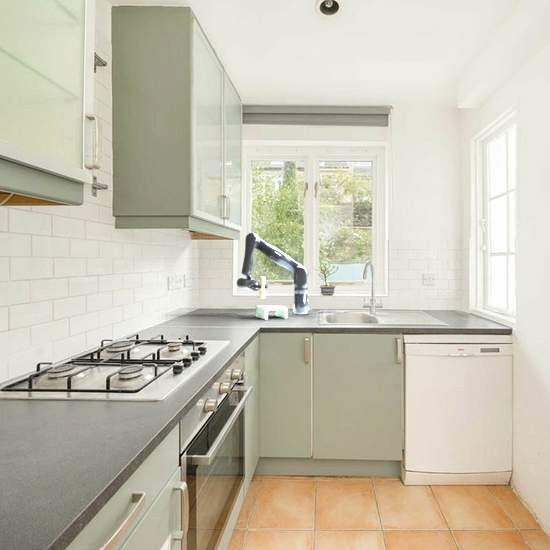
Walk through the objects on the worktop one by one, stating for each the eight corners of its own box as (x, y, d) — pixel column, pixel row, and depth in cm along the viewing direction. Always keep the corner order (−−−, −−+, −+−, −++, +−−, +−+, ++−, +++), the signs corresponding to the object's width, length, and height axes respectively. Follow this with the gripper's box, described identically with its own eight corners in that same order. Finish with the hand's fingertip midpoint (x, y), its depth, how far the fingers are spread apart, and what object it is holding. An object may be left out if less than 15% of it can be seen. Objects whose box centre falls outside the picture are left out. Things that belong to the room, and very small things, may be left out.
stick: (264, 297, 304) (264, 276, 304) (267, 298, 300) (267, 276, 299) (256, 297, 302) (257, 276, 301) (260, 298, 297) (260, 276, 297)
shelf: (277, 315, 309) (278, 305, 309) (287, 318, 297) (287, 307, 297) (256, 316, 302) (256, 306, 302) (264, 319, 290) (265, 308, 290)
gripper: (243, 279, 310) (254, 281, 295) (263, 279, 316) (274, 280, 301) (243, 290, 310) (253, 292, 295) (262, 290, 317) (273, 292, 301)
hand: (264, 286), depth 298 cm, fingers closed on stick, 3 cm apart
